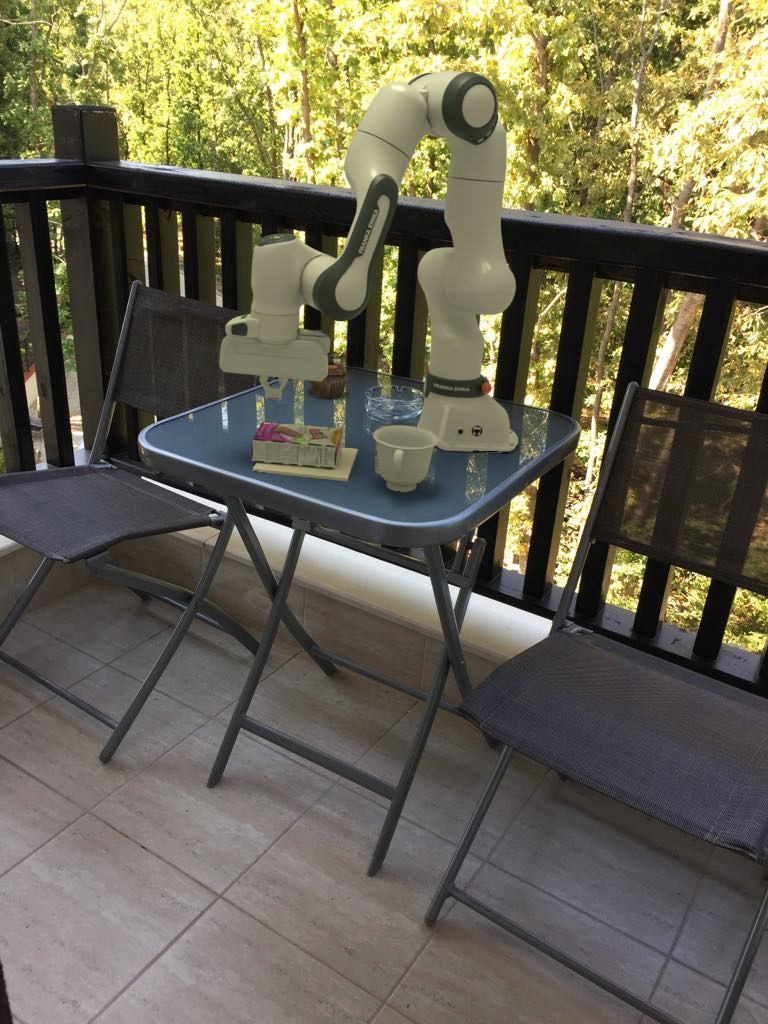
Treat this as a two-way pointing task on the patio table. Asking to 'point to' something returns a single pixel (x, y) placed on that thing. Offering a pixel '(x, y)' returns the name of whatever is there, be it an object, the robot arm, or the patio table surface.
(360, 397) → the patio table surface
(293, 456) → the candy bar box
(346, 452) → the plain beige board
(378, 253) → the robot arm
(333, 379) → the cupcake
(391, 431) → the teacup
